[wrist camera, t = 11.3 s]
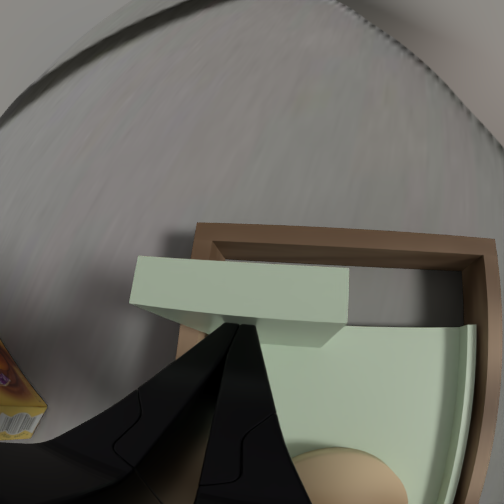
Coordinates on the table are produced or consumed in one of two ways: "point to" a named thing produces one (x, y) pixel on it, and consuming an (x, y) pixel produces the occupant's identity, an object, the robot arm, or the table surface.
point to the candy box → (17, 401)
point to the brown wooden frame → (389, 256)
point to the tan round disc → (348, 477)
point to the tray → (334, 364)
